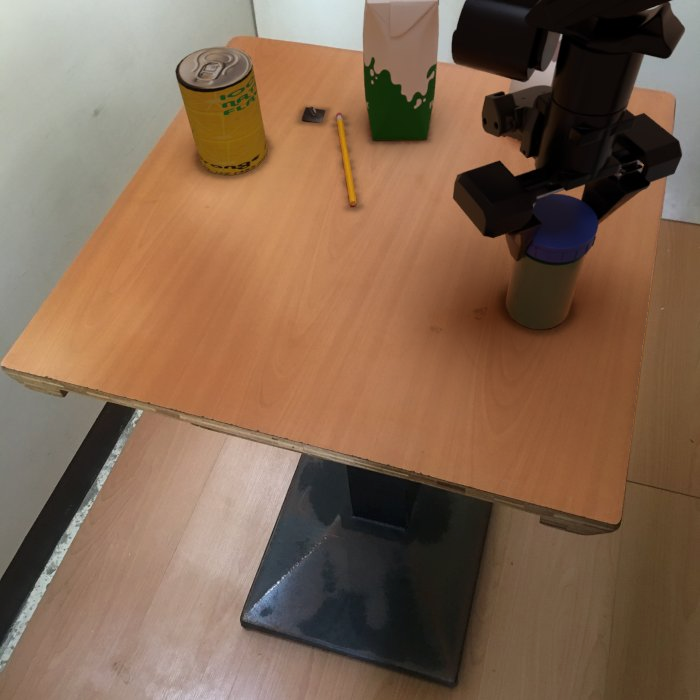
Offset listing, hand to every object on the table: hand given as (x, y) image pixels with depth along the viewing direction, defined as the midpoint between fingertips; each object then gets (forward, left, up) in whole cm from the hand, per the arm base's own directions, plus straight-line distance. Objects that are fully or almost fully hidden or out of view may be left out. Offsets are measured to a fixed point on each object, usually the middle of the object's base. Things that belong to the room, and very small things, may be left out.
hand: (547, 245), depth 60 cm
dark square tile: (+29, -31, -9) cm, 43 cm away
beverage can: (+38, -22, -9) cm, 45 cm away
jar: (-1, 0, -8) cm, 8 cm away
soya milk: (+17, -30, -9) cm, 36 cm away
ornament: (-2, -31, -9) cm, 32 cm away
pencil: (+23, -22, -9) cm, 33 cm away
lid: (0, 0, +3) cm, 3 cm away
